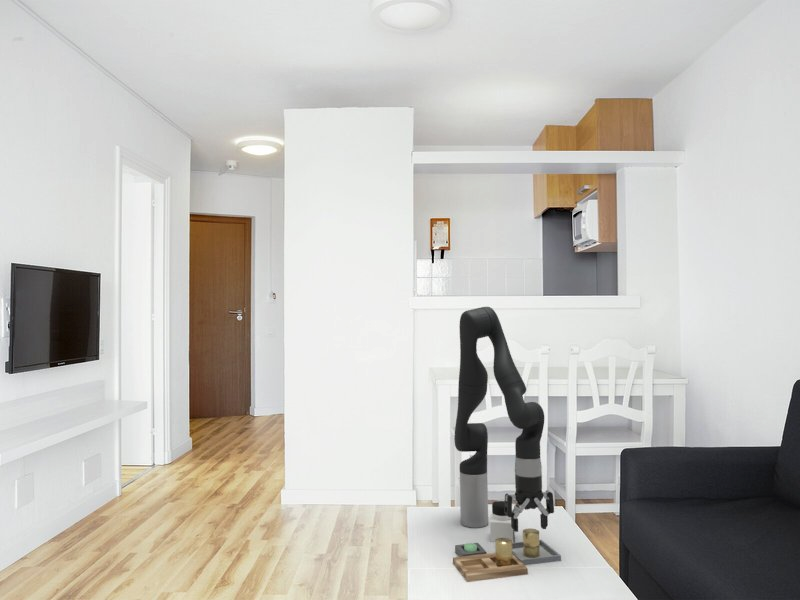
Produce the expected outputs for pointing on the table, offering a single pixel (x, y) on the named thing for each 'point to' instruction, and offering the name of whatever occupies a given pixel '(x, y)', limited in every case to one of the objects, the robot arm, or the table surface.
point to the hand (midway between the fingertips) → (529, 529)
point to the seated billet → (503, 552)
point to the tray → (538, 560)
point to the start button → (470, 547)
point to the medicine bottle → (500, 522)
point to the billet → (531, 543)
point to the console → (460, 552)
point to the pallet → (487, 567)
